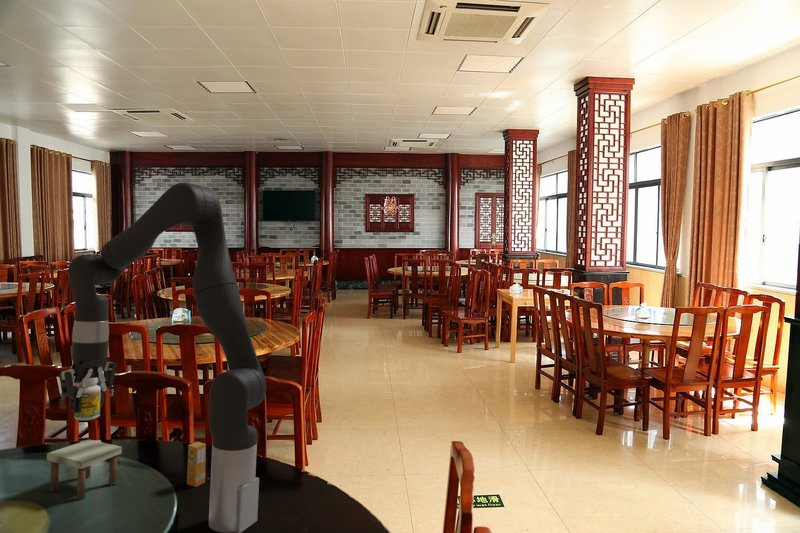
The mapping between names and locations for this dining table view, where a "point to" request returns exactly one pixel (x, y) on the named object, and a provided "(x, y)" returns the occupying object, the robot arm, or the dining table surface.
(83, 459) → the stool
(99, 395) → the supplement bottle
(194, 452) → the supplement box
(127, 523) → the dining table surface
